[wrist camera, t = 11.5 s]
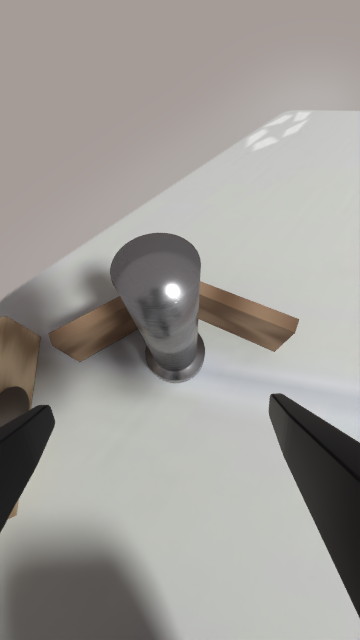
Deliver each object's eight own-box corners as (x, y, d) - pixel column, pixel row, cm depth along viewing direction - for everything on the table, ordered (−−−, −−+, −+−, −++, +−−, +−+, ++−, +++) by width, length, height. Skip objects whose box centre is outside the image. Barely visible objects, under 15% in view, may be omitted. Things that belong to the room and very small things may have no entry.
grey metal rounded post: (215, 355, 22) (244, 264, 10) (173, 396, 21) (144, 347, 8) (178, 319, 25) (162, 207, 12) (137, 353, 23) (71, 264, 11)
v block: (281, 351, 22) (303, 332, 18) (73, 362, 23) (45, 346, 18) (264, 288, 26) (279, 259, 22) (85, 299, 27) (64, 273, 22)
